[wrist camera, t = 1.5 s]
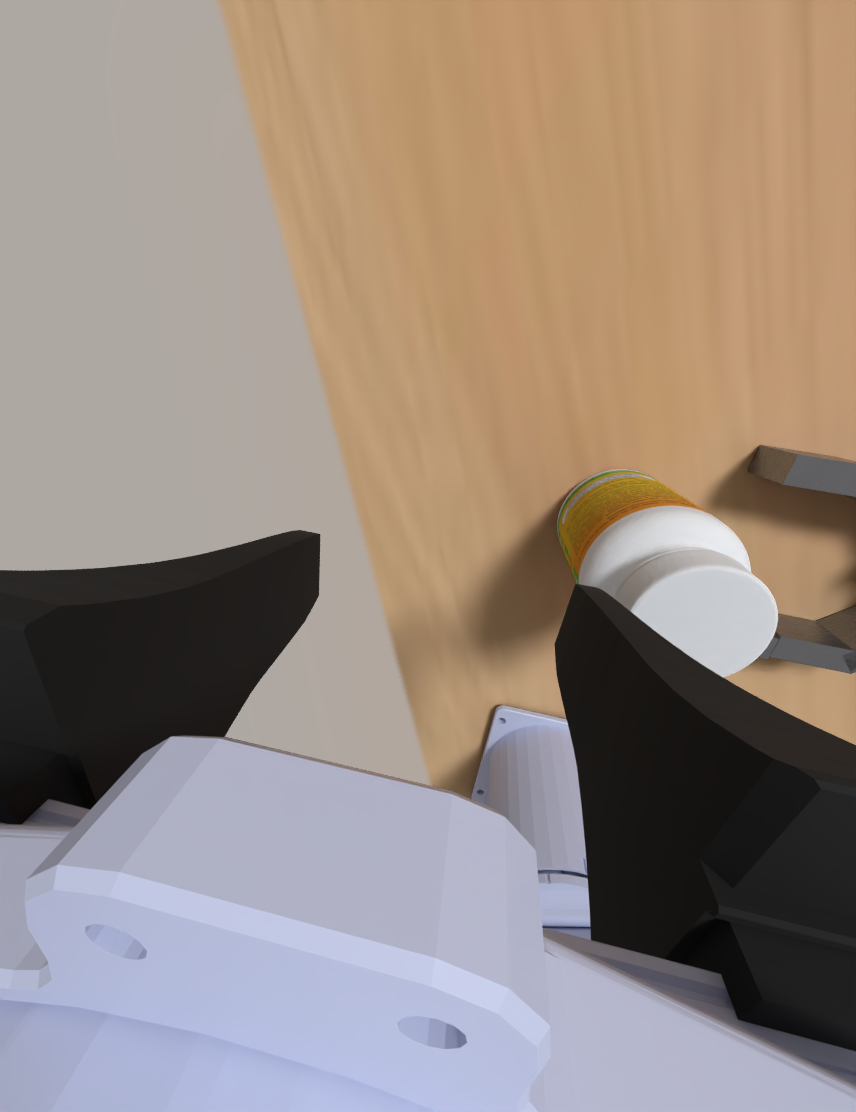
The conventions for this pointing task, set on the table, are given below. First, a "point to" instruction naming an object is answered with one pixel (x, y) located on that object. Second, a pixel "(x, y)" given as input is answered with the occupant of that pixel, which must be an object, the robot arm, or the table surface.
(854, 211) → the table surface
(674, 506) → the supplement bottle
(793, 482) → the socket
